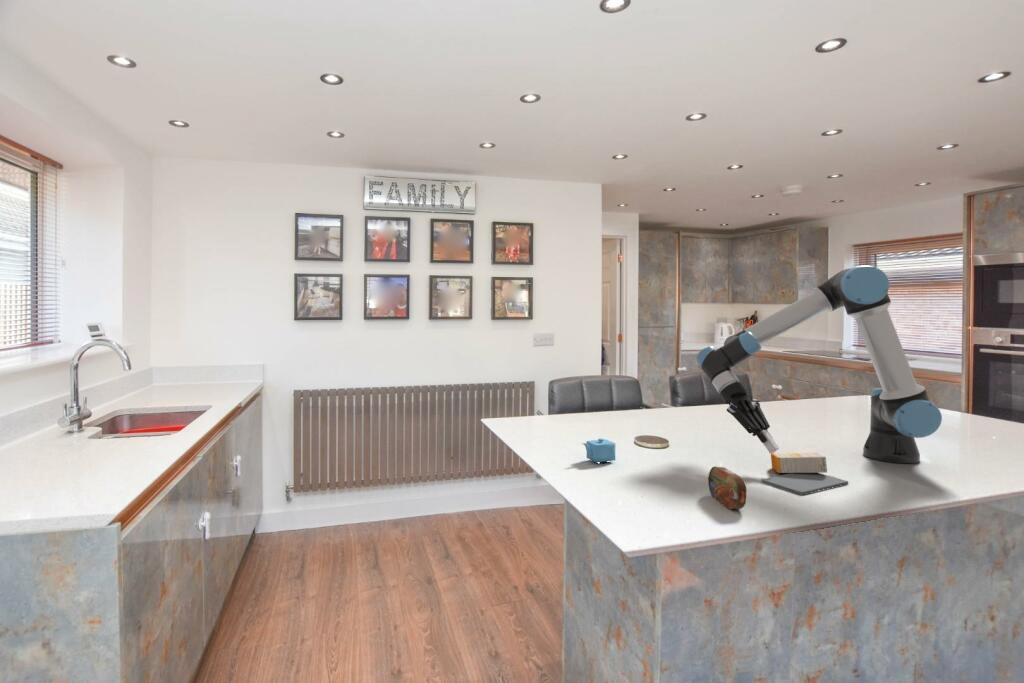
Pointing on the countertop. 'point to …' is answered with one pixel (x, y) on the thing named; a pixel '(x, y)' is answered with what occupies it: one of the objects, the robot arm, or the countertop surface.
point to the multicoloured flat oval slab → (727, 487)
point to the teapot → (600, 450)
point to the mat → (804, 482)
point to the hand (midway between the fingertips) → (774, 450)
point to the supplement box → (799, 462)
